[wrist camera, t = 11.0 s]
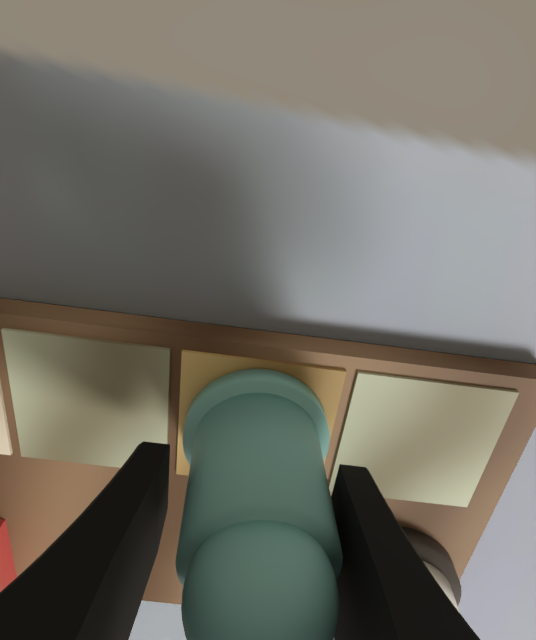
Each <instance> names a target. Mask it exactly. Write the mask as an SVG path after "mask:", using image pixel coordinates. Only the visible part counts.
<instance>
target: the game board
mask: <svg viewBox="0 0 536 640" xmlns="http://www.w3.org/2000/svg"><path fill="white" fill-rule="evenodd" d="M246 369H269V370H274V371H279V372H282V373H286V374H288V375H290V376H293V377H295V378H297V379H298V380H300V381H302V382H303V383H304V384H306V385H307V386H308V387H309V388H310V389H311V390H312V391H313V392H314V393H315V394H316V395H317V397H318V398H319V400H320V402H321V404H322V406H323V408H324V412H325V415H326V419H327V423H328V427H329V434H330V442H329V448H328V452H327V455H326V457H325V459H324V466H325V471H326V476H327V481H328V486H329V490H330V495H332V492H333V488H334V484H335V480H336V476H337V473H338V469H339V465H340V464H343V465H352V466H360V467H366V468H367V469H368V470H369V472H370V474H371V475H372V477H373V479H374V481H375V483H376V484H377V486H378V488H379V490H380V492H381V493H382V495H383V497H384V499H385V500H386V502H387V504H388V506H389V507H390V509H391V511H392V512H393V514H394V516H395V518H396V519H397V521H398V523H399V524H400V526H401V527H402V529H403V531H404V532H405V534H406V536H407V537H408V539H409V540H410V542H411V543H412V545H413V546H414V548H415V550H416V551H417V553H418V554H419V556H420V557H421V559H422V561H425V562H427V563H429V564H430V565H432V566H434V567H435V568H437V569H438V570H439V571H440V572H441V573H442V574H444V576H445V577H446V578H447V580H448V581H449V583H450V585H451V588H452V591H453V594H454V597H455V600H456V603H457V606H458V604H459V602H460V598H461V585H460V581H459V580H460V578H461V576H462V574H463V572H464V570H465V568H466V566H467V564H468V562H469V560H470V558H471V555H472V553H473V551H474V549H475V547H476V545H477V543H478V541H479V539H480V537H481V535H482V533H483V531H484V529H485V527H486V525H487V523H488V521H489V519H490V517H491V515H492V513H493V511H494V509H495V507H496V505H497V503H498V501H499V499H500V497H501V495H502V493H503V491H504V489H505V487H506V485H507V483H508V481H509V479H510V477H511V475H512V473H513V471H514V469H515V467H516V465H517V463H518V461H519V459H520V457H521V455H522V453H523V451H524V449H525V447H526V445H527V443H528V441H529V439H530V437H531V435H532V433H533V431H534V429H535V427H536V364H528V363H520V362H512V361H504V360H496V359H488V358H480V357H471V356H463V355H455V354H447V353H439V352H431V351H423V350H415V349H407V348H399V347H391V346H383V345H375V344H367V343H359V342H351V341H343V340H334V339H326V338H318V337H310V336H302V335H294V334H286V333H278V332H270V331H262V330H254V329H246V328H238V327H230V326H222V325H214V324H205V323H197V322H189V321H181V320H173V319H165V318H157V317H149V316H141V315H133V314H125V313H117V312H109V311H101V310H93V309H85V308H76V307H68V306H60V305H52V304H44V303H36V302H28V301H20V300H12V299H4V298H0V519H6V524H7V529H8V534H9V539H10V545H11V550H12V555H13V560H14V565H15V570H16V575H17V577H18V576H19V575H20V574H21V573H22V572H23V571H24V570H25V569H26V568H28V567H29V566H30V565H31V564H32V563H33V562H34V561H35V560H36V559H37V558H38V557H39V556H40V555H41V554H42V553H43V552H44V551H45V550H46V549H47V548H48V547H49V546H50V545H51V544H52V543H53V542H54V541H55V540H56V539H57V538H58V537H59V536H60V535H61V534H62V533H63V532H64V531H65V530H66V529H67V528H68V527H69V526H70V525H71V524H72V523H73V522H74V521H75V520H76V519H77V518H78V517H79V516H80V514H81V513H82V512H83V511H84V510H85V509H86V508H87V507H88V506H89V504H90V503H91V502H92V501H93V500H94V499H95V498H96V497H97V495H98V494H99V493H100V492H101V491H102V490H103V489H104V488H105V486H106V485H107V484H108V483H109V482H110V480H111V479H112V478H113V477H114V476H115V474H116V473H117V472H118V471H119V470H120V468H121V467H122V466H123V465H124V463H125V462H126V461H127V459H128V458H129V457H130V456H131V454H132V453H133V452H134V450H135V449H136V447H137V446H138V445H139V444H140V443H142V442H143V441H145V442H153V443H162V444H170V463H169V491H168V510H167V514H166V518H165V523H164V527H163V532H162V536H161V540H160V544H159V549H158V553H157V556H156V559H155V562H154V565H153V568H152V571H151V574H150V577H149V580H148V583H147V586H146V589H145V592H144V595H143V598H142V600H144V601H154V602H163V603H173V604H182V591H183V586H182V584H181V583H180V581H179V578H178V576H177V572H176V555H177V548H178V542H179V535H180V529H181V522H182V516H183V509H184V503H185V496H186V490H187V483H188V476H189V470H190V465H189V463H188V461H187V459H186V457H185V454H184V450H183V432H184V426H185V421H186V416H187V412H188V409H189V407H190V405H191V403H192V401H193V399H194V398H195V397H196V396H197V394H198V393H199V392H200V391H201V390H202V389H203V388H204V387H205V386H207V385H208V384H209V383H211V382H212V381H214V380H216V379H217V378H219V377H221V376H224V375H226V374H229V373H232V372H236V371H240V370H246Z"/></svg>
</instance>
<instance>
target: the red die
mask: <svg viewBox="0 0 536 640" xmlns="http://www.w3.org/2000/svg"><path fill="white" fill-rule="evenodd" d="M16 578H17V575H16V570H15V565H14V560H13V555H12V550H11V545H10V539H9V534H8V529H7V524H6V519H0V592H1V591H2V590H3V589H4V588H5V587H7V586H8V585H9V584H10V583H11V582H12V581H13V580H14V579H16Z"/></svg>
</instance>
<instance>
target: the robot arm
mask: <svg viewBox="0 0 536 640" xmlns="http://www.w3.org/2000/svg"><path fill="white" fill-rule="evenodd" d="M169 463H170V444H162V443H153V442H145V441H143V442H142V443H140V444H139V445H138V446H137V447H136V449H135V450H134V452H133V453H132V454H131V456H130V457H129V458H128V459H127V461H126V462H125V463H124V465H123V466H122V467H121V468H120V470H119V471H118V472H117V473H116V474H115V476H114V477H113V478H112V479H111V480H110V482H109V483H108V484H107V485H106V486H105V488H104V489H103V490H102V491H101V492H100V493H99V494H98V495H97V497H96V498H95V499H94V500H93V501H92V502H91V503H90V504H89V506H88V507H87V508H86V509H85V510H84V511H83V512H82V513H81V514H80V516H79V517H78V518H77V519H76V520H75V521H74V522H73V523H72V524H71V525H70V526H69V527H68V528H67V529H66V530H65V531H64V532H63V533H62V534H61V535H60V536H59V537H58V538H57V539H56V540H55V541H54V542H53V543H52V544H51V545H50V546H49V547H48V548H47V549H46V550H45V551H44V552H43V553H42V554H41V555H40V556H39V557H38V558H37V559H36V560H35V561H34V562H33V563H32V564H31V565H30V566H29V567H28V568H26V569H25V570H24V571H23V572H22V573H21V574H20V575H19V576H18V577H17V578H16V579H14V580H13V581H12V582H11V583H10V584H9V585H8V586H7V587H5V588H4V589H3V590H2V591H1V592H0V640H128V639H129V636H130V633H131V630H132V627H133V624H134V621H135V618H136V615H137V612H138V609H139V606H140V603H141V600H142V598H143V595H144V592H145V589H146V586H147V583H148V580H149V577H150V574H151V571H152V568H153V565H154V562H155V559H156V556H157V553H158V549H159V544H160V540H161V536H162V532H163V527H164V523H165V518H166V514H167V510H168V491H169ZM331 500H332V505H333V510H334V515H335V520H336V524H337V529H338V534H339V539H340V544H341V549H342V555H343V563H342V568H341V572H340V574H339V576H338V578H337V580H336V581H337V586H338V594H339V617H338V623H337V628H336V632H335V635H334V640H480V639H479V638H478V636H477V635H476V634H475V632H474V631H473V630H472V629H471V627H470V626H469V625H468V624H467V622H466V621H465V620H464V618H463V617H462V616H461V614H460V613H459V612H458V610H457V609H456V608H455V606H454V605H453V604H452V602H451V601H450V599H449V598H448V597H447V595H446V594H445V592H444V591H443V590H442V588H441V587H440V585H439V584H438V582H437V581H436V580H435V578H434V577H433V575H432V574H431V572H430V571H429V569H428V568H427V566H426V565H425V563H424V562H423V561H422V559H421V557H420V556H419V554H418V553H417V551H416V550H415V548H414V546H413V545H412V543H411V542H410V540H409V539H408V537H407V536H406V534H405V532H404V531H403V529H402V527H401V526H400V524H399V523H398V521H397V519H396V518H395V516H394V514H393V512H392V511H391V509H390V507H389V506H388V504H387V502H386V500H385V499H384V497H383V495H382V493H381V492H380V490H379V488H378V486H377V484H376V483H375V481H374V479H373V477H372V475H371V474H370V472H369V470H368V469H367V468H366V467H360V466H352V465H343V464H340V465H339V469H338V473H337V476H336V480H335V484H334V488H333V492H332V495H331Z"/></svg>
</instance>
